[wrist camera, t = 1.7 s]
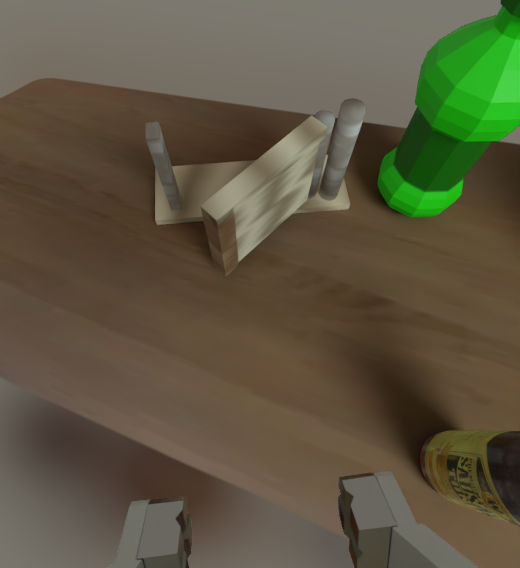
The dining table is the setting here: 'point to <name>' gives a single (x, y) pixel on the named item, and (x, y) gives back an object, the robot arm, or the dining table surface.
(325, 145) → the gate
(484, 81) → the plastic bottle
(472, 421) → the dining table surface
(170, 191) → the wooden stand
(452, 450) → the sauce bottle
